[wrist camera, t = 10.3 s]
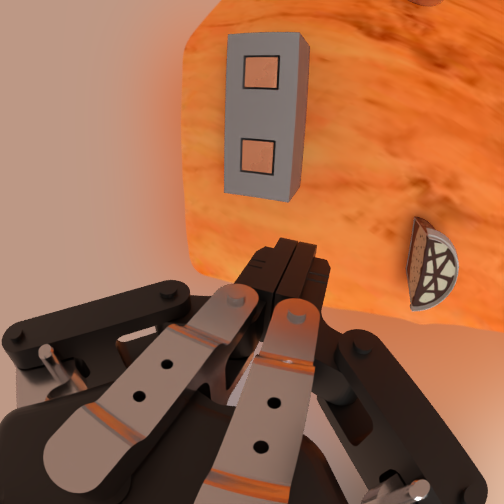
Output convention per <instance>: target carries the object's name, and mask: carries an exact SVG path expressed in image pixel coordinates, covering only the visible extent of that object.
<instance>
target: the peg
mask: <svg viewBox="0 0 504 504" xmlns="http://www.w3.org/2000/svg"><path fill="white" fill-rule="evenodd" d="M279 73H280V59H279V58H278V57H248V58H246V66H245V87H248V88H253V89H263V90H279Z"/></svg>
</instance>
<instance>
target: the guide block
mask: <svg viewBox="0 0 504 504" xmlns="http://www.w3.org/2000/svg"><path fill="white" fill-rule="evenodd" d="M309 53H310V46H309V45H308V43H307V42H306V41H305V39H304V38H303V37H302V35H301V34H300V33H297V32H259V33H240V34H228V46H227V71H226V102H225V151H224V193H230V194H237V195H244V196H251V197H257V198H264V199H270V200H277V201H283V202H289V201H290V200H291V199H292V197H293V196H294V194H295V193H296V191H297V190H298V189H299V187H300V181H301V171H302V160H303V148H304V136H305V123H306V108H307V93H308V75H309ZM248 57H278V58H279V59H280V73H279V90H263V89H253V88H248V87H245V66H246V58H248ZM248 138H253V139H265V140H275V141H276V148H275V164H274V172H273V173H264V172H256V171H247V170H242V148H243V140H244V139H248Z"/></svg>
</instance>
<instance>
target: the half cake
mask: <svg viewBox="0 0 504 504" xmlns="http://www.w3.org/2000/svg"><path fill="white" fill-rule="evenodd" d="M458 269H459V265H458V258H457V253H456V250H455V247H454V245H453V244H452V242H451V241H450V240H449V238H447V237H446V236H445V235H444V234H442V233H441V232H439V231H437V230H435V229H434V227H433V226H432V225H431V224H430V223H429V222H428V221H426V220H424V219H422V218H419V217H414V222H413V229H412V236H411V242H410V248H409V254H408V259H407V265H406V274H407V280H408V287H409V294H410V302H411V304H410V308H411V310H412V311H422V310H426V309H429V308H432V307H434V306H436V305H437V304H439V303H440V302H442V301H443V300H444V299H445V298H446V297H447V296H448V295H449V294H450V292H451V291H452V289H453V287H454V286H455V283H456V280H457V276H458Z"/></svg>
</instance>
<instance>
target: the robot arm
mask: <svg viewBox="0 0 504 504" xmlns="http://www.w3.org/2000/svg"><path fill="white" fill-rule="evenodd" d="M409 1H411V2H413V3H416V4H419V5H423V6H434V5H437V4H440V3H441V2H442V1H443V0H409ZM316 249H317V245H313V244H309V243H304V242H299V243H298V241H295V240H290V239H285V238H280V239H279V241H278V242H277V244H276V246H275V247H274V248H270V247H266V246H265V247H264V248H262V249H260V250H258V251H256V253H255V254H254V255H253V257H252V258H251V260H250V261H249V263H248V264H247V266H246V267H245V268H244V270H243V271H242V273H241V274H240V276H239V277H238V278H237V280H236V281H235V283H234V284H228V285H225V286H223V287H221V288H219V289H218V290H217V291H216V292H215V293H214V295H212V296H194V295H190V290H189V287H188V286H187V285H186V284H185V283H183V282H180V281H176V280H166V281H162V282H158V283H155V284H151V285H148V286H144V287H141V288H137V289H134V290H130V291H127V292H124V293H120V294H116V295H113V296H109V297H106V298H102V299H99V300H95V301H92V302H88V303H85V304H81V305H78V306H74V307H71V308H67V309H63V310H60V311H56V312H53V313H49V314H45V315H42V316H39V317H35V318H32V319H28V320H24V321H20V322H17V323H15V324H13V325H12V326H10V327H9V328H8V329H7V330H6V332H5V333H4V335H3V338H2V346H3V348H4V350H5V351H6V353H7V354H8V355H9V357H10V358H11V360H12V361H13V363H14V365H15V367H16V398H17V409H15V410H13V411H12V412H10V413H9V414H7V415H6V416H5V417H4V419H3V420H2V422H1V423H0V504H348V502H347V500H346V498H345V496H344V494H343V492H342V490H341V488H340V486H339V484H338V482H337V480H336V478H335V476H334V474H333V472H332V470H331V468H330V466H329V464H328V462H327V460H326V458H325V456H324V454H323V453H322V452H321V450H320V449H319V448H318V447H317V445H316V444H315V443H314V442H313V441H311V440H310V439H309V438H308V437H307V436H305V435H304V434H303V431H304V426H305V422H306V416H307V412H308V406H309V401H310V396H311V392H313V393H314V394H316V395H317V400H318V402H319V404H320V406H321V408H322V410H323V411H324V413H325V415H326V417H327V419H328V420H329V422H330V424H331V426H332V427H333V429H334V431H335V433H336V435H337V436H338V438H339V440H340V442H341V443H342V445H343V447H344V448H345V450H346V452H347V453H348V455H349V457H350V459H351V461H352V462H353V464H354V466H355V467H356V469H357V471H358V473H359V474H360V476H361V478H362V479H363V481H364V483H365V485H366V486H367V488H368V489H369V490H368V492H367V493H366V494H365V495H364V497H363V498H362V501H361V504H485V502H486V499H487V494H488V488H487V484H486V481H485V479H484V478H483V476H482V475H481V473H480V472H479V471H478V469H477V467H476V466H475V464H474V463H473V461H472V460H471V459H470V457H469V456H468V454H467V453H466V451H465V450H464V448H463V447H462V446H461V444H460V443H459V442H458V440H457V439H456V437H455V436H454V435H453V433H452V432H451V430H450V429H449V428H448V426H447V425H446V424H445V422H444V421H443V419H442V418H441V417H440V415H439V414H438V413H437V411H436V410H435V409H434V407H433V406H432V405H431V403H430V402H429V401H428V399H427V398H426V397H425V396H424V394H423V393H422V392H421V390H420V389H419V388H418V386H417V385H416V384H415V383H414V381H413V380H412V379H411V378H410V376H409V375H408V374H407V372H406V371H405V370H404V369H403V367H402V366H401V365H400V364H399V362H398V361H397V360H396V359H395V357H394V356H393V355H392V354H391V353H390V351H389V350H388V349H387V348H386V346H385V345H384V344H383V343H382V341H381V340H380V339H379V338H378V337H377V336H375V335H374V334H372V333H370V332H368V331H365V330H360V329H354V330H350V331H347V332H345V333H344V334H342V333H340V332H338V331H336V330H334V329H332V328H331V327H329V326H328V325H327V324H326V322H325V321H324V320H323V318H322V315H321V309H322V305H323V301H324V296H325V292H326V287H327V283H328V278H329V273H330V269H331V268H330V266H329V264H328V261H327V260H325V259H320V258H316V257H315V254H316ZM152 326H155V328H156V331H157V332H156V333H153V334H150V335H147V336H144V337H140V338H137V339H134V340H131V341H128V342H120V341H118V340H117V339H118V338H119V337H121V336H123V335H126V334H130V333H133V332H136V331H140V330H142V329H146V328H149V327H152ZM259 341H260V342H263V345H262V348H261V351H260V353H259V355H258V354H257V355H256V356H255V358H254V360H253V363H252V366H251V369H250V371H249V374H248V377H247V379H246V382H245V385H244V388H243V390H242V393H241V396H240V398H239V401H238V404H237V406H236V407H235V406H227V402H228V399H229V397H230V395H231V393H232V392H233V390H234V389H235V387H236V385H237V384H238V382H239V380H240V379H241V377H242V375H243V374H244V372H245V370H246V369H247V367H248V366H249V364H250V362H251V360H252V359H253V356H254V351H255V349H256V347H257V345H258V343H259Z"/></svg>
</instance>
